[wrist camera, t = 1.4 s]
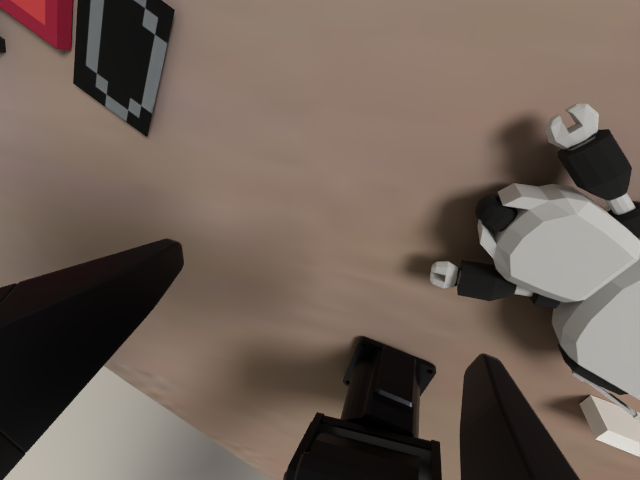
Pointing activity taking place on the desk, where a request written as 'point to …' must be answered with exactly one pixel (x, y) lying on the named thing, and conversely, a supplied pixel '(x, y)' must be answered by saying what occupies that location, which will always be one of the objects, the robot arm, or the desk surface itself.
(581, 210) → the robot toy
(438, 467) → the robot arm
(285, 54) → the desk surface
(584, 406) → the frame
